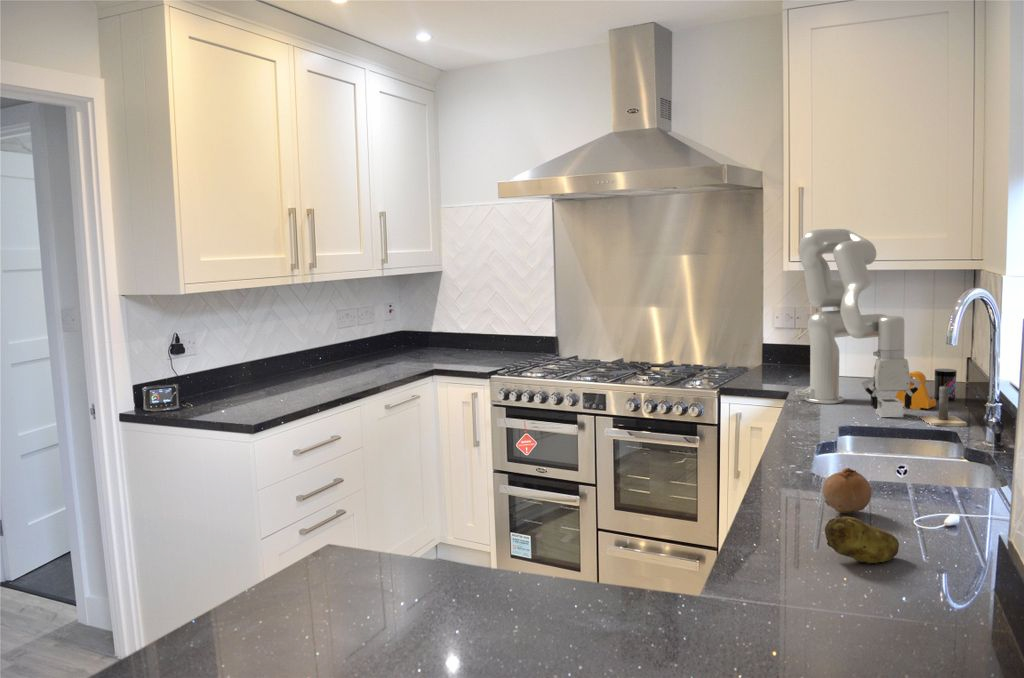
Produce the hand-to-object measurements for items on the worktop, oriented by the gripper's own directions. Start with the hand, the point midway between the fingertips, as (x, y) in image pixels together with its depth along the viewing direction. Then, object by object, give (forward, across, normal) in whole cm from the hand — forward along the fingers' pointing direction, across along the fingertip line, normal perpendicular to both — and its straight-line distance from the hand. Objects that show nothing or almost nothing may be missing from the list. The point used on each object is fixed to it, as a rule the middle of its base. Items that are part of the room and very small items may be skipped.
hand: (891, 408), depth 253 cm
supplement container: (+3, +25, +27) cm, 36 cm away
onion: (+4, -34, -94) cm, 101 cm away
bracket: (+3, +12, +15) cm, 19 cm away
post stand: (+3, +13, -8) cm, 15 cm away
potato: (+5, -37, -119) cm, 125 cm away
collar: (+3, 0, +1) cm, 3 cm away
